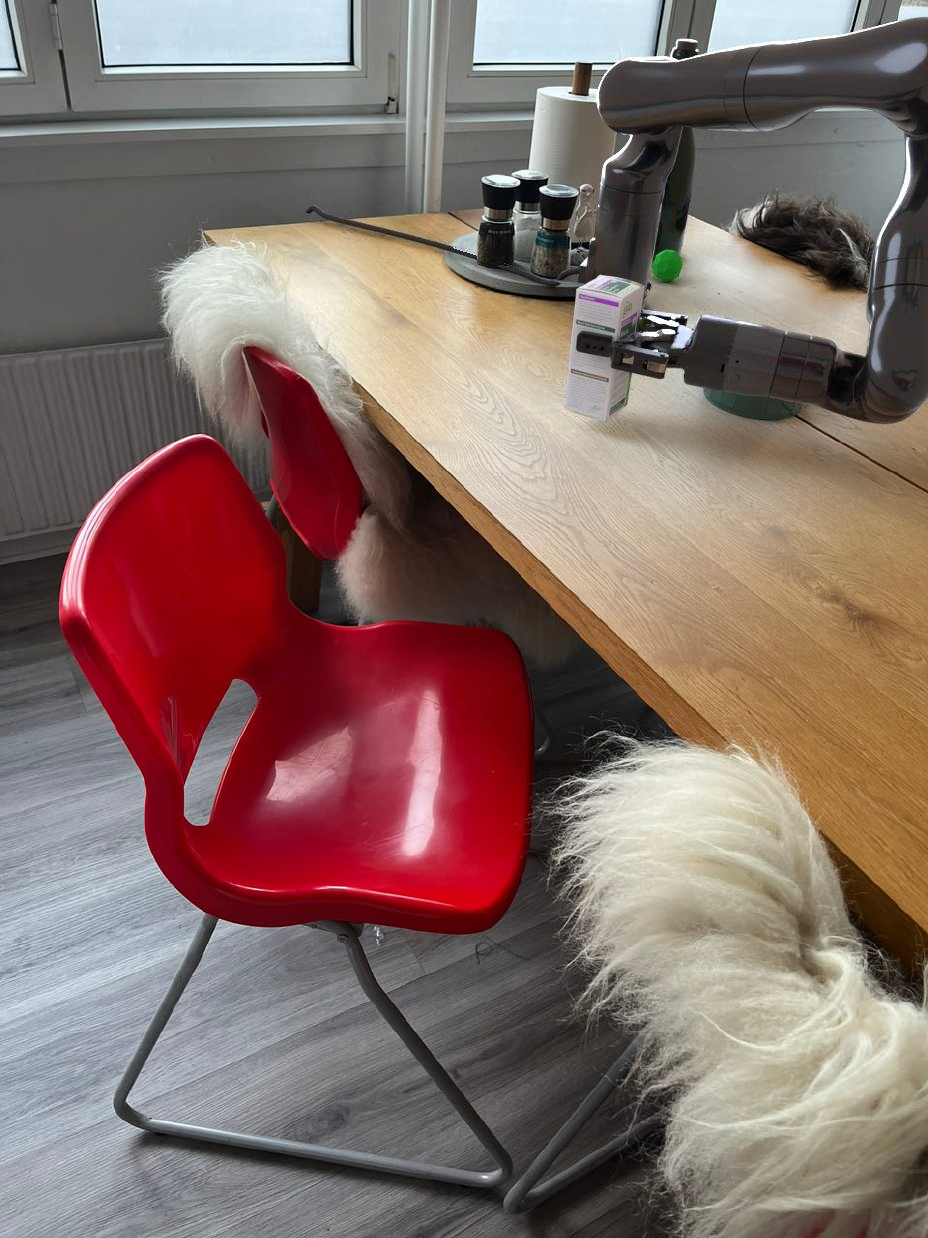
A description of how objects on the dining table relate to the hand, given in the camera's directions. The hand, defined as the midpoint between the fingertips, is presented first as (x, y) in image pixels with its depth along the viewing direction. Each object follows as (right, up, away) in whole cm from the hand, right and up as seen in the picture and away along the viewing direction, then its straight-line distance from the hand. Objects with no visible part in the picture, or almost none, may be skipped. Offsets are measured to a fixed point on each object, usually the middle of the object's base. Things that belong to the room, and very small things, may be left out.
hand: (585, 330), depth 106 cm
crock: (+23, -4, +15) cm, 28 cm away
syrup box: (+2, -8, +5) cm, 9 cm away
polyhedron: (+20, +24, +51) cm, 60 cm away
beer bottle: (+20, +33, +63) cm, 74 cm away
